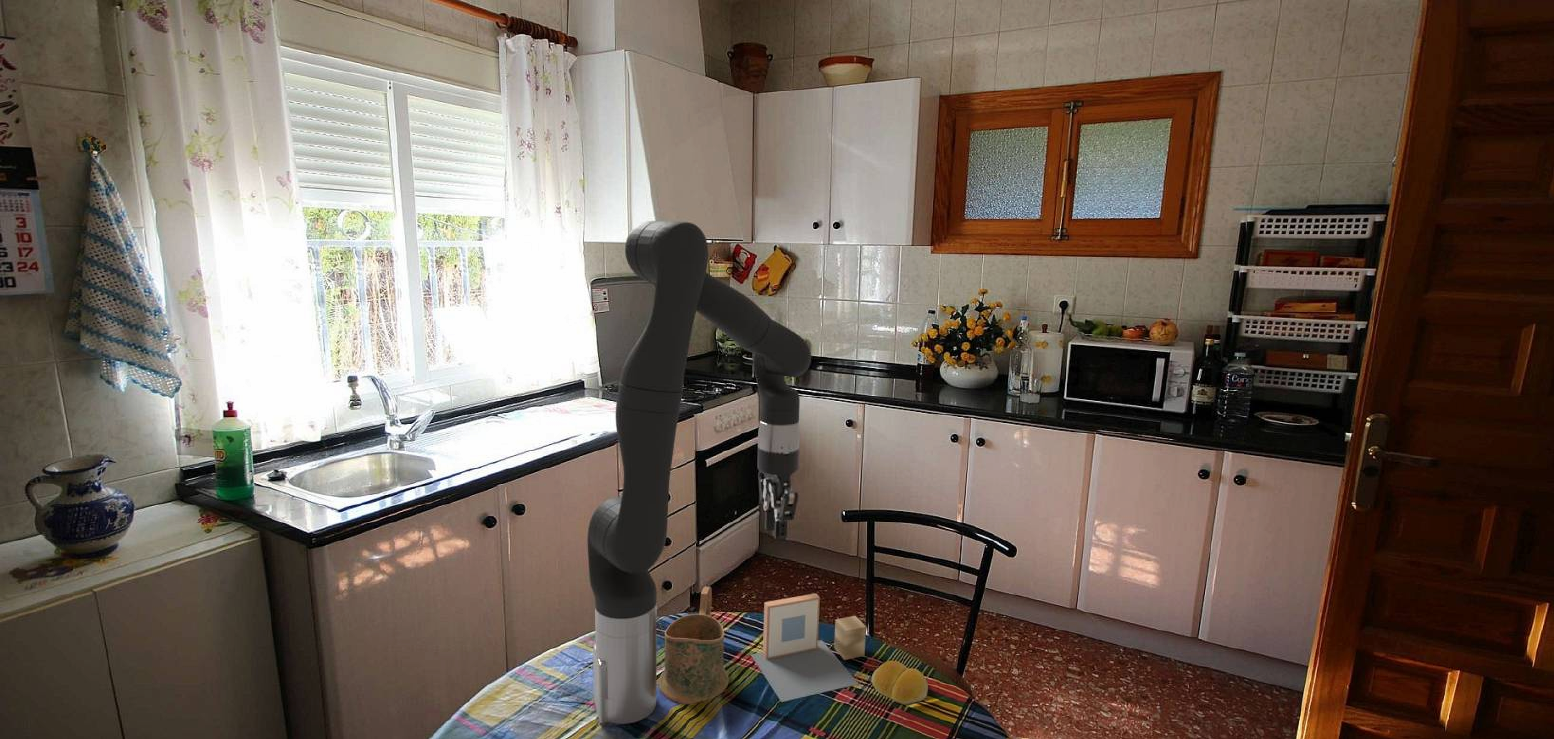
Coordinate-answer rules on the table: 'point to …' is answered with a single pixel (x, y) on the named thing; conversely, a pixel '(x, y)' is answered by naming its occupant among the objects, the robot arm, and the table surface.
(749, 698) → the table surface
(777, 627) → the tile
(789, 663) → the mat
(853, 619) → the block
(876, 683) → the bread roll
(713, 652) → the mug
